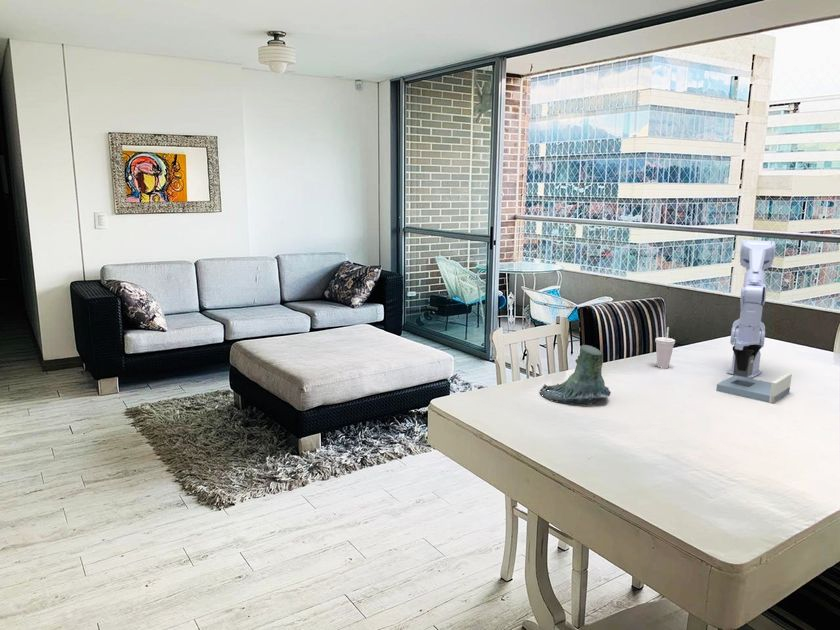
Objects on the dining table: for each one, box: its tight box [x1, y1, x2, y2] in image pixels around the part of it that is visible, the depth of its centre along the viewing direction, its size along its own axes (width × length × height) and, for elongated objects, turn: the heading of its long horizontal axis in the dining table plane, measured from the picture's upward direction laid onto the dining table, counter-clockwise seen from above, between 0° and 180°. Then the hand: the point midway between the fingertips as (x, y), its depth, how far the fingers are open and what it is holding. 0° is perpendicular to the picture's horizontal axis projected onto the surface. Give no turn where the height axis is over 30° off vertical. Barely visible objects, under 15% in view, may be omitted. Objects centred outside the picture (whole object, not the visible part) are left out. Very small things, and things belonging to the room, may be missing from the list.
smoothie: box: [654, 326, 676, 369], centre depth 217 cm, size 6×6×14 cm
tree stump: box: [539, 344, 612, 405], centre depth 186 cm, size 18×20×18 cm
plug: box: [732, 355, 754, 378], centre depth 194 cm, size 4×4×6 cm
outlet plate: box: [715, 372, 792, 404], centre depth 192 cm, size 14×16×6 cm
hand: (744, 368), depth 194 cm, fingers closed on plug, 4 cm apart
